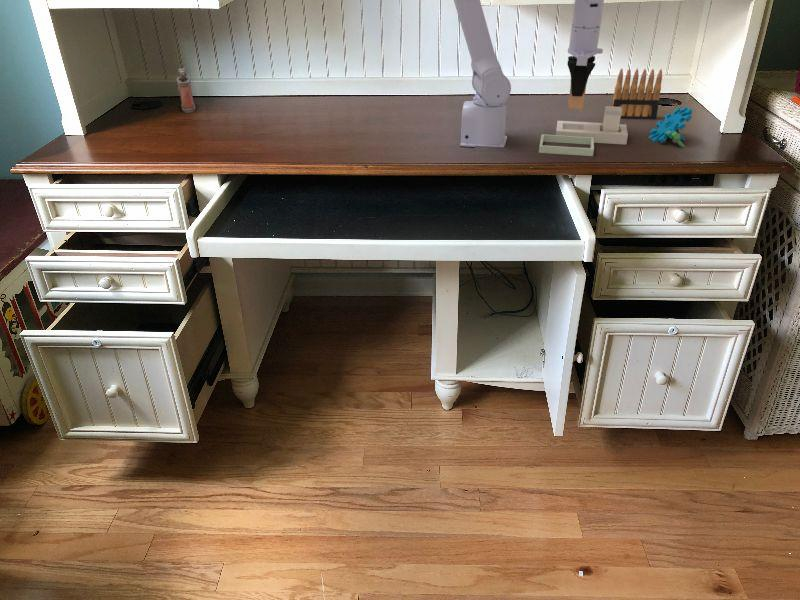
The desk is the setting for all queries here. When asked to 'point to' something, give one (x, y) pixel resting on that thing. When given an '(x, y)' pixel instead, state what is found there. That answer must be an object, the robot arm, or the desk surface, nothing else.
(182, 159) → the desk surface
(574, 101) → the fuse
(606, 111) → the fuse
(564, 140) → the parts tray
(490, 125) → the robot arm
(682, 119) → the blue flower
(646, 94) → the ammunition clip
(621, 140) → the block
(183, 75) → the pink perfume bottle
